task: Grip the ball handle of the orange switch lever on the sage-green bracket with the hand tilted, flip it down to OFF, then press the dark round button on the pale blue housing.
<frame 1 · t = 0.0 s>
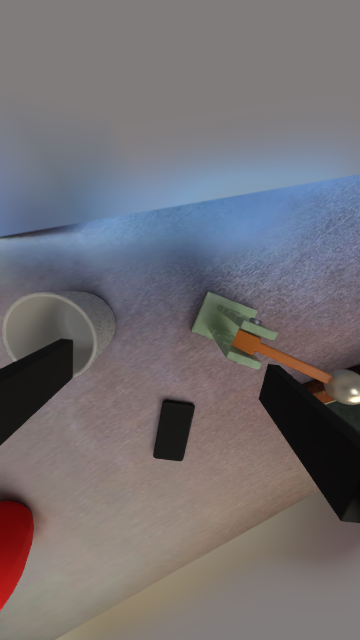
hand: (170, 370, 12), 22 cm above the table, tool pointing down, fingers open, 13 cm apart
switch lever: (293, 362, 21), point 14 cm above the table, hinge at 24.0°
switch bracket: (222, 319, 34), on the table
planter: (89, 320, 34), on the table
vase: (13, 513, 45), on the table
smartphone: (173, 429, 40), on the table
book: (341, 404, 39), on the table
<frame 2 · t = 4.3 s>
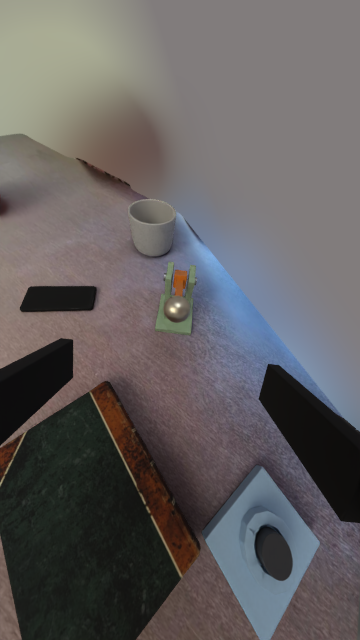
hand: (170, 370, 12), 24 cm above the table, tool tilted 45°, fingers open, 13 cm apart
switch lever: (178, 292, 28), point 14 cm above the table, hinge at 24.0°
button housing: (256, 533, 25), on the table
switch bracket: (175, 314, 43), on the table
planter: (153, 248, 56), on the table
button: (273, 551, 21), point 4 cm above the table, slide at 0.1 cm
smartphone: (61, 299, 42), on the table
book: (95, 493, 26), on the table
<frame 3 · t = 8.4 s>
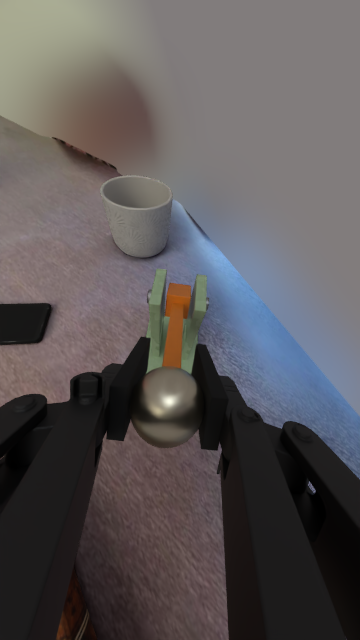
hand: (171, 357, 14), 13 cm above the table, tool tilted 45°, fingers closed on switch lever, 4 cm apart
switch lever: (174, 336, 13), point 14 cm above the table, hinge at 24.0°, touching gripper
switch bracket: (170, 347, 28), on the table
planter: (142, 246, 41), on the table
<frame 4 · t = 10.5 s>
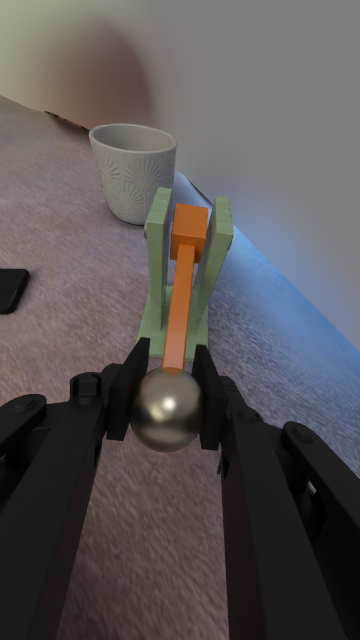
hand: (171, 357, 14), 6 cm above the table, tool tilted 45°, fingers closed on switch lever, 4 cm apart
switch lever: (179, 306, 11), point 11 cm above the table, hinge at -10.2°, touching gripper
switch bracket: (174, 322, 23), on the table
planter: (140, 214, 35), on the table
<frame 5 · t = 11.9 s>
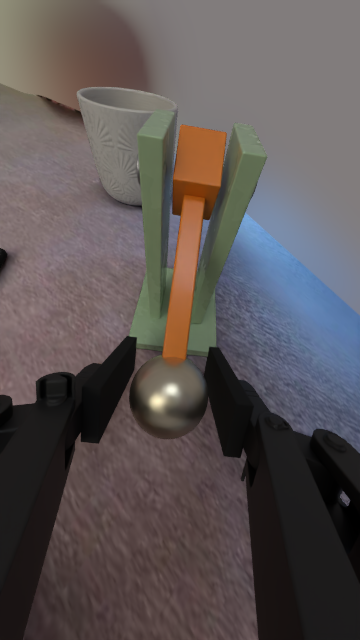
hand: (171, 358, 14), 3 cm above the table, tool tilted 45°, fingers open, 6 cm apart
switch lever: (183, 283, 9), point 9 cm above the table, hinge at -27.1°
switch bracket: (176, 309, 19), on the table
planter: (137, 195, 32), on the table
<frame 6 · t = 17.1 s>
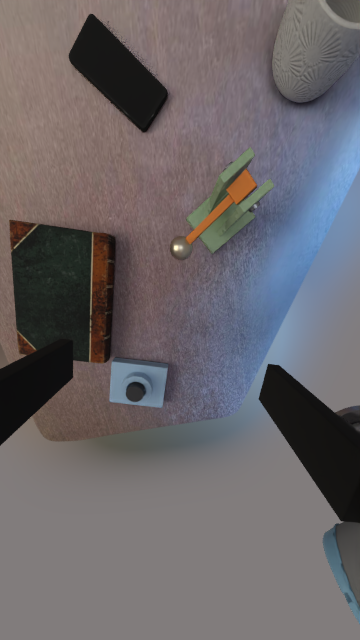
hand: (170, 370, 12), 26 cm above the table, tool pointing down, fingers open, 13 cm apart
switch lever: (206, 223, 26), point 9 cm above the table, hinge at -27.1°
button housing: (139, 380, 42), on the table
switch bracket: (219, 219, 34), on the table
planter: (300, 69, 29), on the table
button: (135, 391, 37), point 4 cm above the table, slide at 0.1 cm
smartphone: (120, 81, 29), on the table
book: (72, 296, 37), on the table
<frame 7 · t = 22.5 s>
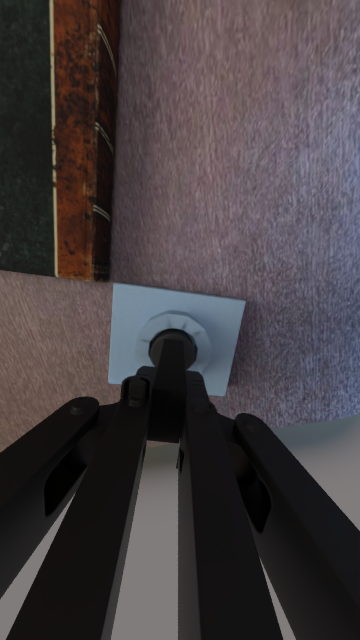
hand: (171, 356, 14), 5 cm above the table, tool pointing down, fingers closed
button housing: (174, 337, 19), on the table
button: (172, 351, 15), point 4 cm above the table, slide at -0.5 cm, touching gripper
book: (15, 118, 15), on the table
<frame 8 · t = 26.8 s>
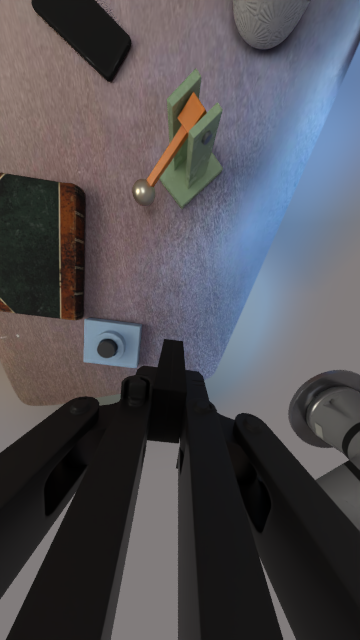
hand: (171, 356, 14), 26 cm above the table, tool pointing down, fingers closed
switch lever: (164, 161, 26), point 9 cm above the table, hinge at -27.1°
button housing: (114, 341, 42), on the table
switch bracket: (188, 173, 34), on the table
planter: (263, 16, 30), on the table
button: (107, 348, 37), point 4 cm above the table, slide at 0.1 cm
smartphone: (84, 29, 30), on the table
book: (44, 254, 37), on the table
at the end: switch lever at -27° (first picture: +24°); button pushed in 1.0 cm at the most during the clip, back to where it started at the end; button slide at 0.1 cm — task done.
